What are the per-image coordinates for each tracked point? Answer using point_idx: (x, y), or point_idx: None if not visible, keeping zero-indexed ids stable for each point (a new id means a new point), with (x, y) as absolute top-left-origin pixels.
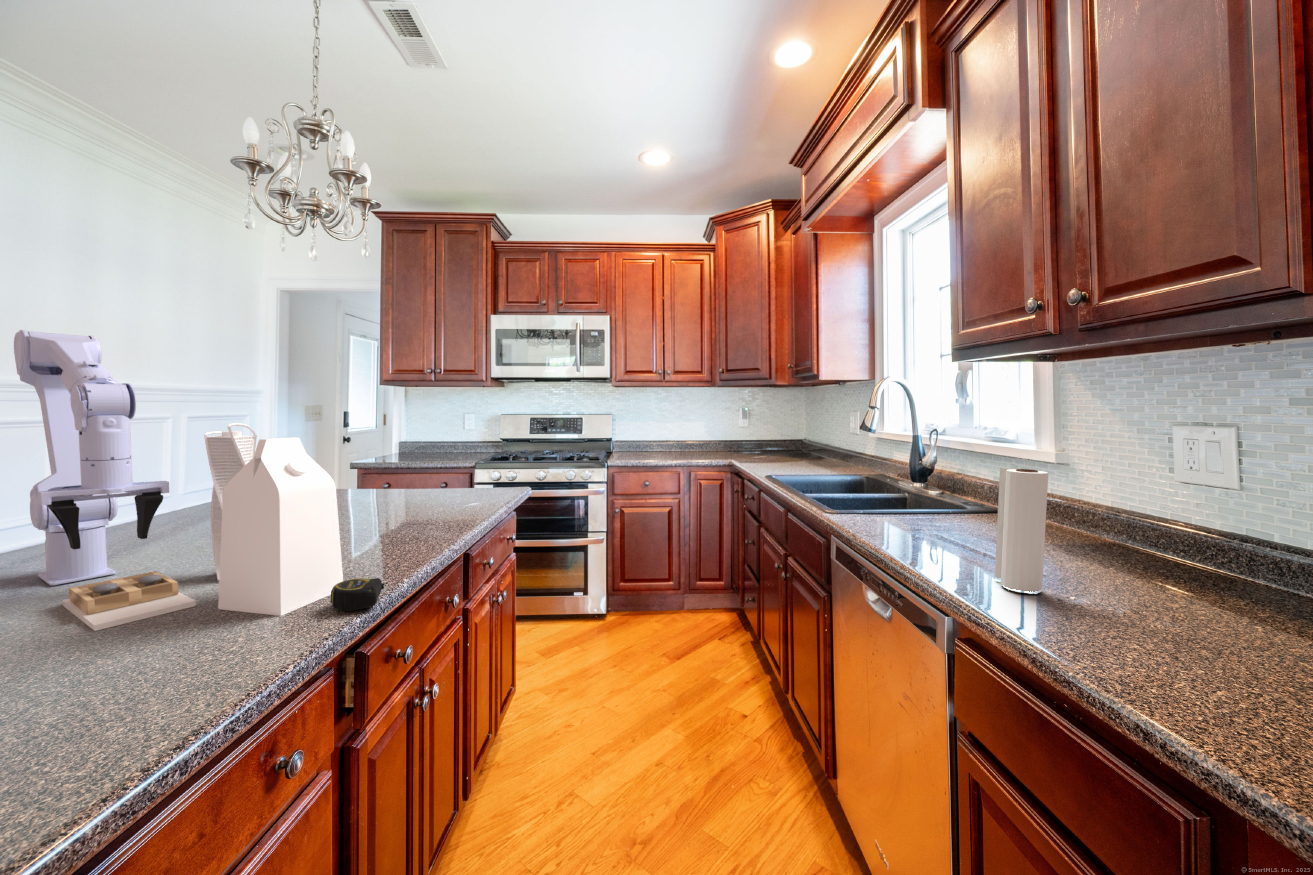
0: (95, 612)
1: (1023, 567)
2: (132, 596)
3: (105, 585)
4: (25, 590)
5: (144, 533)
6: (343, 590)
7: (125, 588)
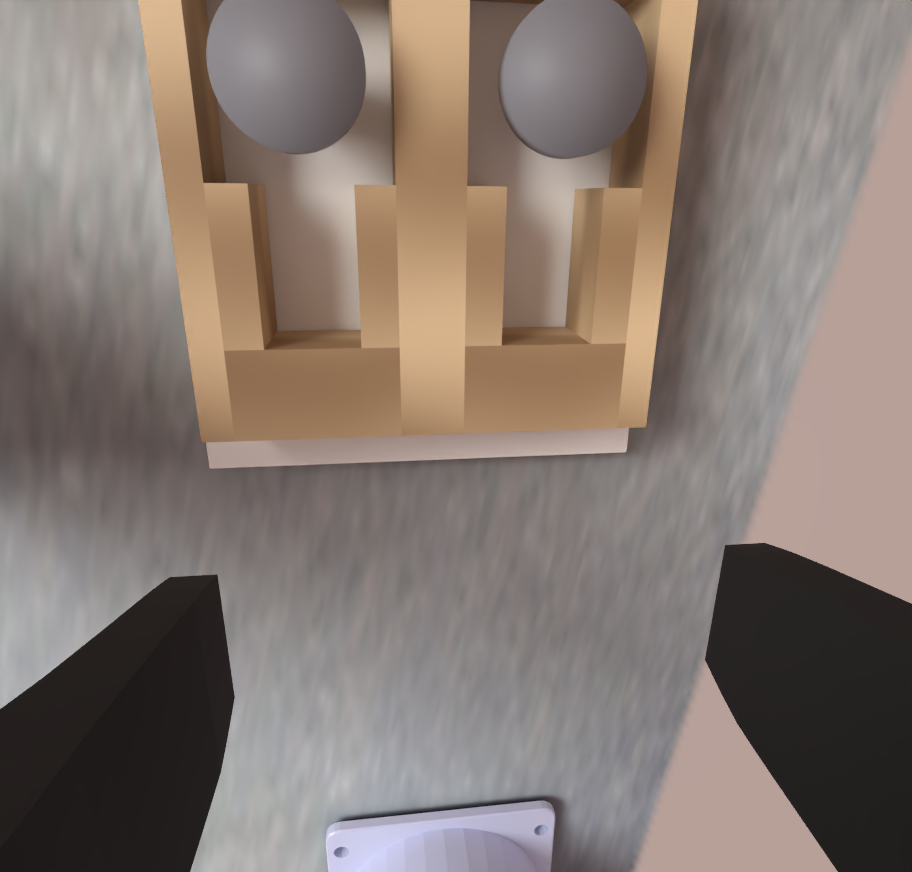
0: None
1: None
2: None
3: (570, 102)
4: (618, 807)
5: (167, 598)
6: None
7: (453, 66)
